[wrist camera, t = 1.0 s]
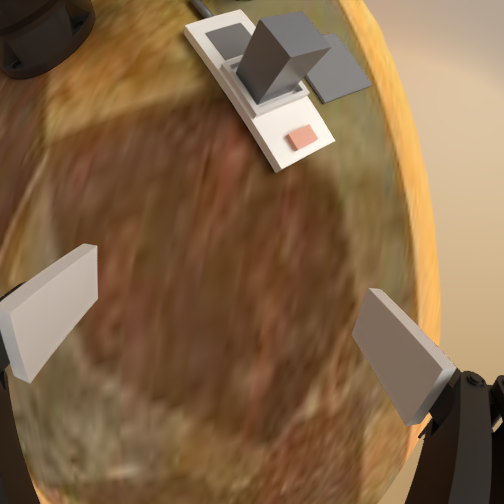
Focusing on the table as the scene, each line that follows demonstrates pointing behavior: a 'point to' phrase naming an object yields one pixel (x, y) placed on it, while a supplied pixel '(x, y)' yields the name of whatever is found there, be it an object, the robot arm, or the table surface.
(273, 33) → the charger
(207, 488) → the table surface
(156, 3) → the table surface
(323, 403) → the table surface
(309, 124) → the white slab
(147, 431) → the table surface
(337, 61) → the pad
